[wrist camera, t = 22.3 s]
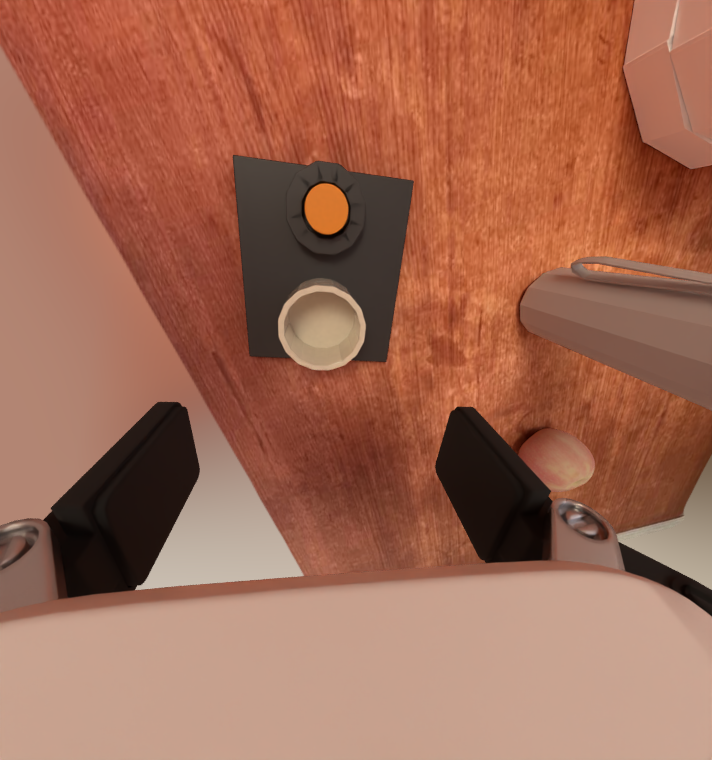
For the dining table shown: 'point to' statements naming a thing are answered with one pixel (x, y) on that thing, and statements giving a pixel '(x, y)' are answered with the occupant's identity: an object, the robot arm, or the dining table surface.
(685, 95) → the container
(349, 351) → the bowl
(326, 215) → the button
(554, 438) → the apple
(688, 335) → the water bottle
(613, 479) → the dining table surface
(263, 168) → the scale
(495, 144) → the dining table surface
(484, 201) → the dining table surface
